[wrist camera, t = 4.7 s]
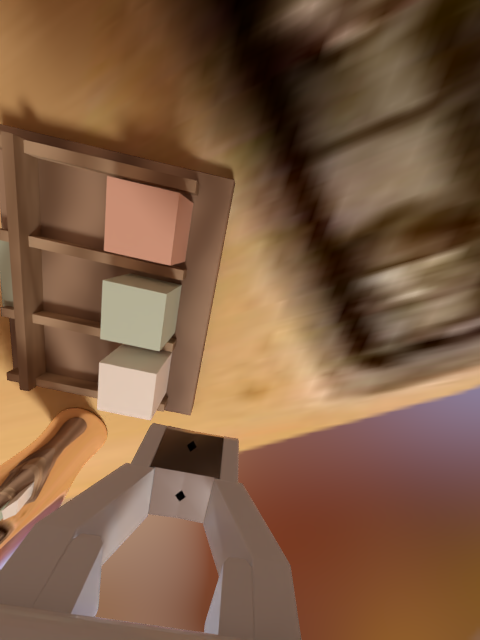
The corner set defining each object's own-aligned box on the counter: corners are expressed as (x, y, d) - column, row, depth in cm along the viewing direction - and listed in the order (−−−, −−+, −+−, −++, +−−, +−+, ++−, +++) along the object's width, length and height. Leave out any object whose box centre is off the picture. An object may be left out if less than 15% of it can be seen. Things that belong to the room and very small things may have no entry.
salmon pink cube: (193, 203, 19) (179, 192, 15) (185, 261, 20) (170, 265, 16) (136, 190, 18) (106, 175, 15) (131, 249, 20) (103, 250, 16)
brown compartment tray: (234, 183, 19) (232, 172, 16) (192, 407, 26) (185, 429, 23) (8, 130, 19) (-38, 107, 16) (24, 373, 25) (-6, 391, 22)
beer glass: (39, 409, 27) (-202, 601, 12) (97, 399, 26) (-88, 589, 12) (66, 457, 29) (-115, 670, 14) (120, 449, 28) (-13, 663, 14)
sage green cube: (181, 284, 21) (166, 294, 17) (174, 332, 22) (159, 351, 18) (129, 273, 20) (102, 280, 17) (125, 322, 22) (100, 338, 18)
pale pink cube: (172, 352, 23) (156, 374, 19) (166, 392, 24) (150, 420, 20) (124, 342, 22) (99, 362, 19) (121, 383, 24) (97, 409, 20)
